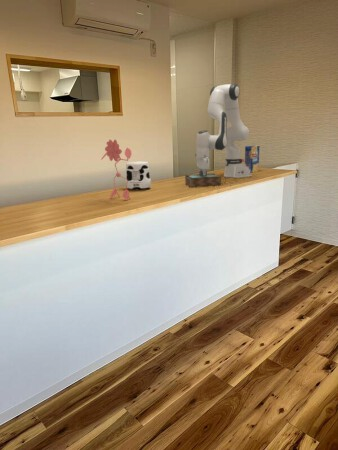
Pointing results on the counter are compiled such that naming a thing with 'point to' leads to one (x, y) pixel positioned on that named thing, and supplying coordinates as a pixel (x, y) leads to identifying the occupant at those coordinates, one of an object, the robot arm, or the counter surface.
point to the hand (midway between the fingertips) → (202, 174)
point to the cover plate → (201, 175)
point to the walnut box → (203, 181)
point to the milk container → (138, 175)
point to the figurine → (114, 153)
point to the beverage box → (252, 158)
